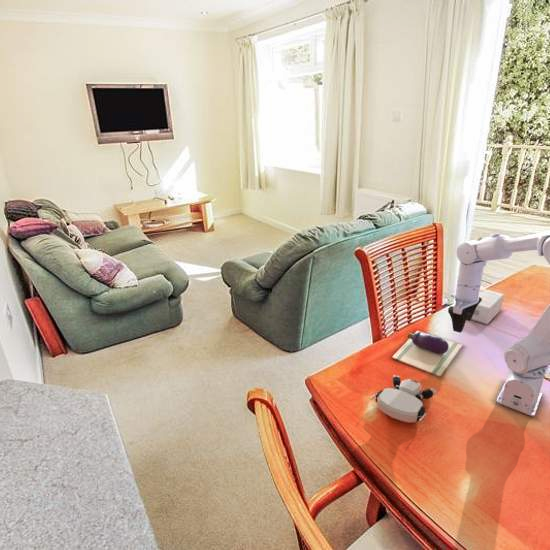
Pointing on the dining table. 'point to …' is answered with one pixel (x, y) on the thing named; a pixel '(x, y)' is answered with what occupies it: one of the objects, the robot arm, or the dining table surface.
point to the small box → (487, 306)
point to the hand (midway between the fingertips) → (462, 325)
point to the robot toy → (403, 400)
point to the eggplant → (429, 342)
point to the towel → (426, 357)
